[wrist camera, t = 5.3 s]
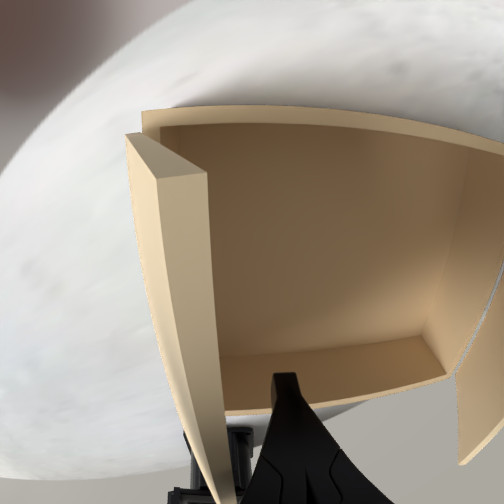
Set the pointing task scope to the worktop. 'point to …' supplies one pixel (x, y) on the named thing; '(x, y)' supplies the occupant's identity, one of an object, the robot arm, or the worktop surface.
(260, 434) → the worktop surface
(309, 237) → the carton
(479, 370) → the flap
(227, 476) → the flap
